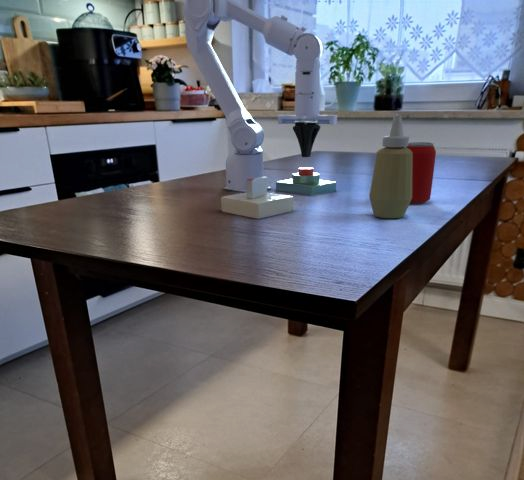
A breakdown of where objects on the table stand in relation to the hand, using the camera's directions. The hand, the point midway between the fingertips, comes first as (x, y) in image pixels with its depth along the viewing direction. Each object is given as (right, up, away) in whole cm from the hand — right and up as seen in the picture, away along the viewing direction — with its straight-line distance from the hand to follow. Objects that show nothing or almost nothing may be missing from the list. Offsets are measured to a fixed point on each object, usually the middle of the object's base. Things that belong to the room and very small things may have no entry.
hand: (306, 156), depth 125 cm
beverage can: (+23, -15, -12) cm, 30 cm away
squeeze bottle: (+14, -21, -25) cm, 35 cm away
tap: (-12, -15, -19) cm, 27 cm away
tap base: (-12, -18, -18) cm, 28 cm away
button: (0, -4, +2) cm, 4 cm away
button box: (0, -7, +4) cm, 8 cm away
